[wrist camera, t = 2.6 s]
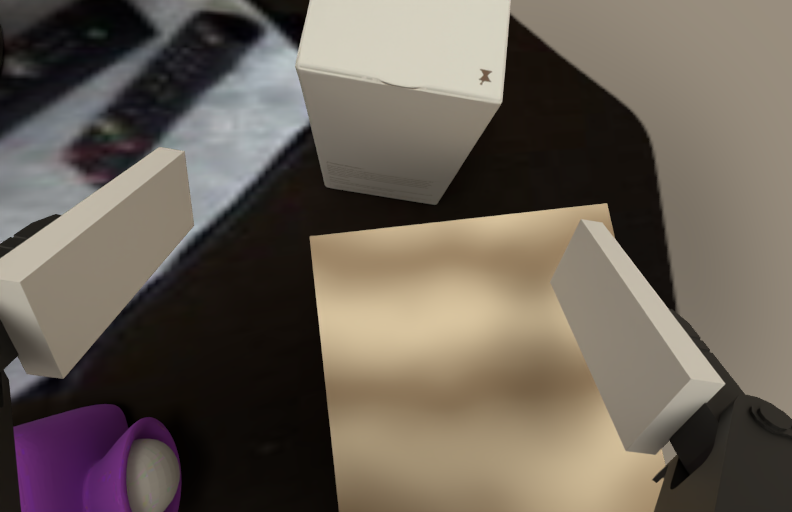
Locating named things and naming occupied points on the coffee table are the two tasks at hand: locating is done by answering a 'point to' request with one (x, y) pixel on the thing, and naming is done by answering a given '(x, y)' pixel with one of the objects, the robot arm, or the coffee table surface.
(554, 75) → the coffee table surface
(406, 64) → the supplement box
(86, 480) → the toy camera
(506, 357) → the low wooden platform
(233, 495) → the coffee table surface
